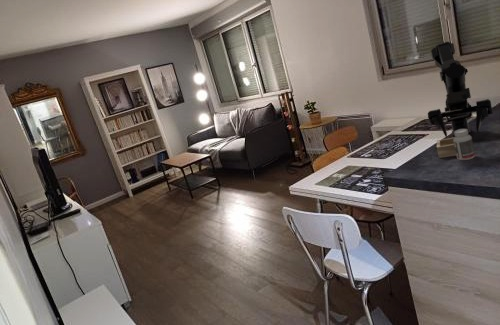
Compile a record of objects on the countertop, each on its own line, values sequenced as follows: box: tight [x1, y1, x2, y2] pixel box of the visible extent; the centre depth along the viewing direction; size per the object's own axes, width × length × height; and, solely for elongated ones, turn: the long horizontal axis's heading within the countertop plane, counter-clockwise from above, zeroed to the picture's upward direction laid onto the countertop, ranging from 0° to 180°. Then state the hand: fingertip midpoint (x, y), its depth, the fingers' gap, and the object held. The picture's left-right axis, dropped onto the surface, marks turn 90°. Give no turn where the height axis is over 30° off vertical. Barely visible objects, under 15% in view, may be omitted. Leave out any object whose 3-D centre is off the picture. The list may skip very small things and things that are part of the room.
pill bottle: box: [453, 129, 476, 161], centre depth 120 cm, size 5×5×10 cm
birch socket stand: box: [436, 136, 456, 159], centre depth 129 cm, size 8×8×4 cm
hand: (461, 134), depth 119 cm, fingers open, 9 cm apart
